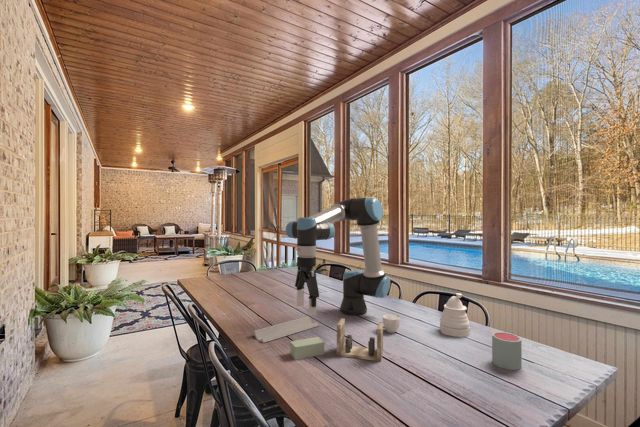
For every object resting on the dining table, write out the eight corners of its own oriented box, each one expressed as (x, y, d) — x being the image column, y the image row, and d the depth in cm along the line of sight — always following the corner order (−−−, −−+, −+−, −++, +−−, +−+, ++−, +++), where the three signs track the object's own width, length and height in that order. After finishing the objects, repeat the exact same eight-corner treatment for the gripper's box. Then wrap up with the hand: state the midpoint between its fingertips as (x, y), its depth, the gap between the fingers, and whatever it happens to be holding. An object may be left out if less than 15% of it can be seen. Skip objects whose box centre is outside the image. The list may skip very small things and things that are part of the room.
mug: (521, 372, 109) (521, 343, 109) (491, 365, 114) (491, 338, 114) (521, 357, 121) (521, 331, 121) (493, 351, 126) (493, 326, 126)
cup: (380, 331, 147) (380, 317, 147) (388, 325, 155) (388, 312, 155) (395, 335, 142) (395, 320, 142) (403, 329, 150) (403, 315, 150)
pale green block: (318, 348, 129) (318, 336, 129) (324, 354, 123) (324, 342, 123) (290, 354, 124) (290, 341, 124) (295, 360, 118) (295, 347, 118)
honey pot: (469, 329, 150) (469, 291, 150) (470, 338, 139) (469, 298, 139) (441, 325, 156) (440, 289, 156) (439, 334, 144) (439, 295, 144)
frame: (382, 352, 125) (382, 322, 125) (381, 361, 117) (381, 329, 117) (341, 347, 130) (341, 318, 130) (336, 355, 122) (336, 324, 122)
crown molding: (263, 344, 134) (263, 336, 134) (249, 336, 143) (249, 328, 143) (318, 327, 154) (318, 320, 154) (303, 321, 163) (303, 314, 163)
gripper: (287, 253, 134) (287, 303, 134) (309, 260, 111) (308, 320, 111) (304, 252, 137) (304, 301, 137) (328, 259, 114) (328, 318, 114)
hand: (306, 310), depth 124 cm, fingers open, 13 cm apart
